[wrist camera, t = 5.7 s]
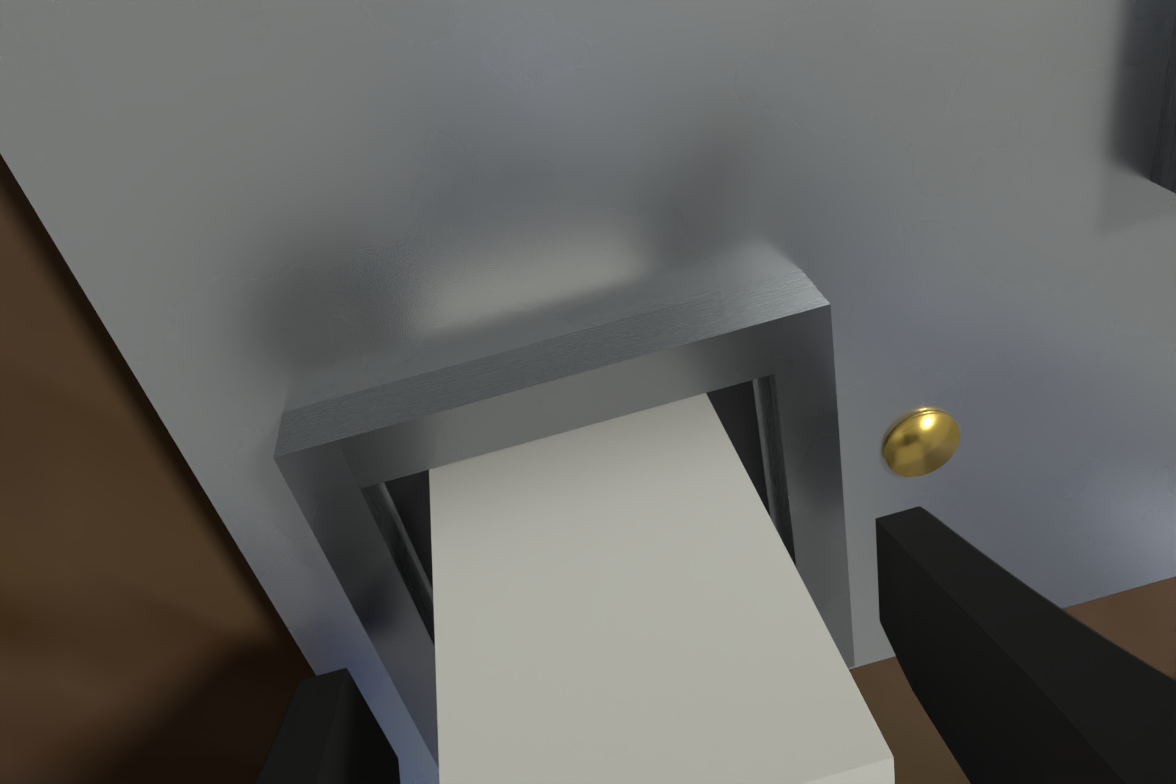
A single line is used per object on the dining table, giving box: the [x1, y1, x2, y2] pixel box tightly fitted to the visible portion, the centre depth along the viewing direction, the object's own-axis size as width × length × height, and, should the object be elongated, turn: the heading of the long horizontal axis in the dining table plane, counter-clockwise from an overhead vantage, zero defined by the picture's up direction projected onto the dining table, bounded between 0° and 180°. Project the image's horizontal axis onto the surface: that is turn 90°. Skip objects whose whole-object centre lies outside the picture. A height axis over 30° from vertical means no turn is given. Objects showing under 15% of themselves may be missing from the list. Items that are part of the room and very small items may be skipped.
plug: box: [429, 393, 895, 784], centre depth 11 cm, size 4×4×7 cm
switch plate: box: [0, 0, 1176, 784], centre depth 12 cm, size 16×22×2 cm
